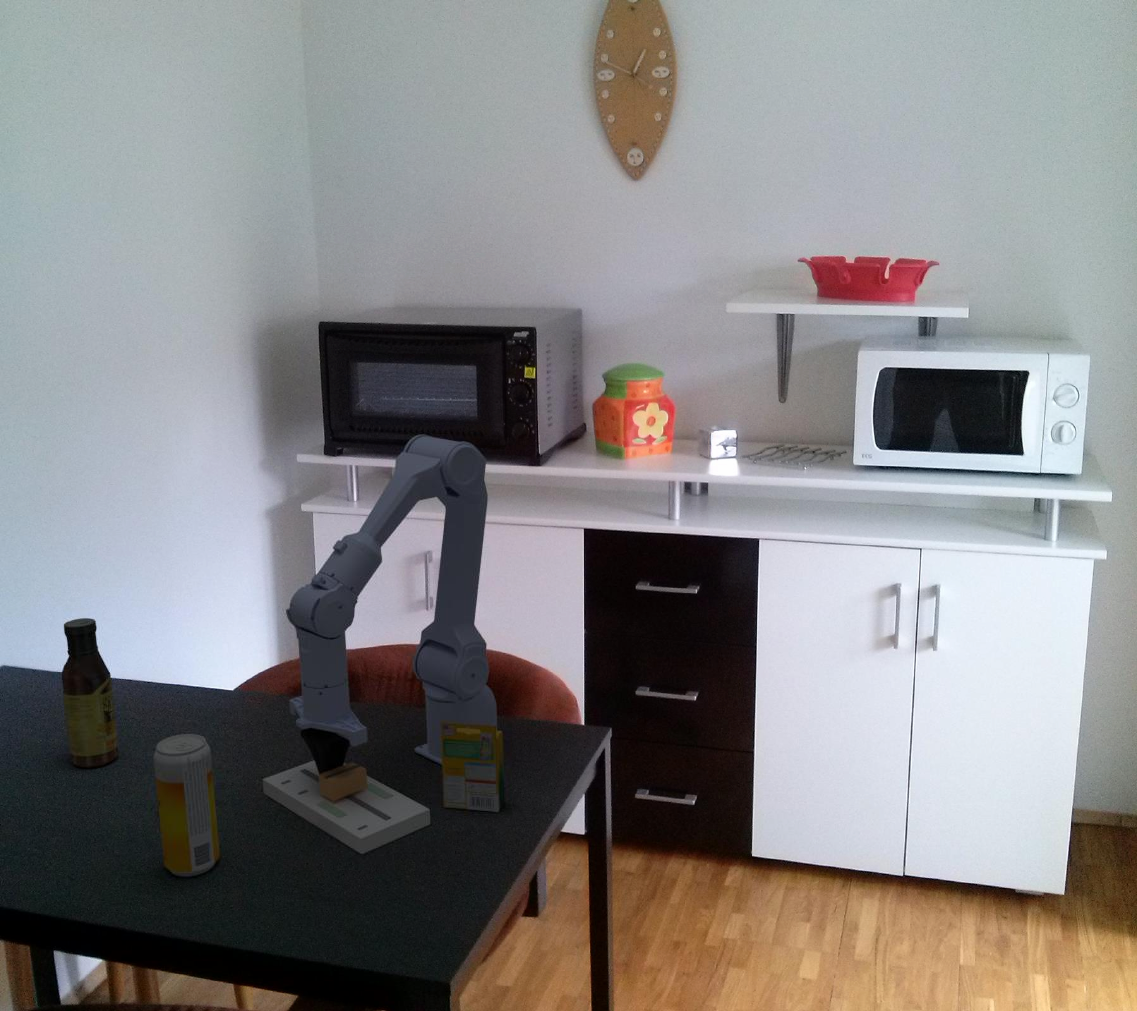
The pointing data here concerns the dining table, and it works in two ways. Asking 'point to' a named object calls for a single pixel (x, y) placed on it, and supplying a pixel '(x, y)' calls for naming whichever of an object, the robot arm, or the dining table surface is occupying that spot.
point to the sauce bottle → (88, 698)
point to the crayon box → (472, 766)
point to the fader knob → (343, 781)
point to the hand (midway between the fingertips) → (331, 781)
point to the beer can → (186, 804)
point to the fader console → (348, 808)
